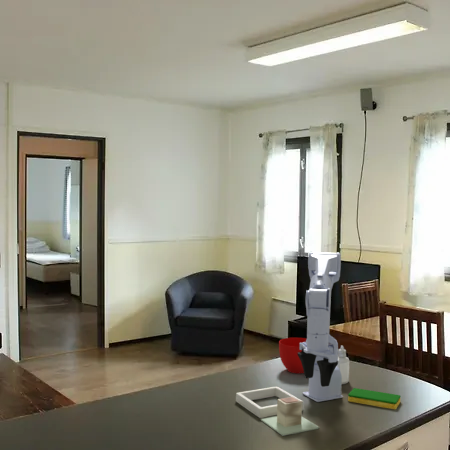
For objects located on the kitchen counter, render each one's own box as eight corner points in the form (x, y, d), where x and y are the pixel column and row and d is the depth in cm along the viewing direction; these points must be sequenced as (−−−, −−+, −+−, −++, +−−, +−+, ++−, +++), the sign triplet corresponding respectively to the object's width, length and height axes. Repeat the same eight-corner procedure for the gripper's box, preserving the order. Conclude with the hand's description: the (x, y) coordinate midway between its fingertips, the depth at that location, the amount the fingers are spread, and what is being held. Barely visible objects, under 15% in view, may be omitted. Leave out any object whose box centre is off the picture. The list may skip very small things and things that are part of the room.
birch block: (293, 418, 153) (293, 396, 153) (301, 423, 149) (301, 400, 149) (277, 421, 151) (277, 398, 150) (285, 427, 147) (285, 403, 147)
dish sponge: (353, 395, 174) (354, 387, 174) (400, 403, 168) (400, 395, 168) (347, 402, 168) (347, 394, 168) (395, 411, 161) (395, 402, 161)
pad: (295, 413, 157) (295, 412, 157) (318, 428, 147) (318, 426, 147) (260, 420, 152) (260, 418, 152) (282, 435, 143) (282, 434, 143)
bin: (276, 394, 173) (277, 386, 173) (303, 410, 160) (303, 401, 160) (235, 401, 167) (236, 392, 166) (259, 418, 154) (259, 408, 154)
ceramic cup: (317, 381, 186) (318, 350, 185) (271, 372, 195) (272, 343, 195) (332, 371, 197) (333, 342, 196) (288, 363, 206) (289, 335, 205)
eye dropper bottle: (352, 384, 183) (353, 347, 183) (336, 385, 182) (336, 348, 181) (346, 379, 187) (347, 343, 187) (330, 380, 186) (331, 344, 186)
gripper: (290, 328, 160) (290, 376, 160) (321, 340, 147) (320, 392, 147) (311, 326, 163) (310, 372, 164) (343, 337, 150) (342, 388, 151)
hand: (316, 381), depth 156 cm, fingers open, 7 cm apart
